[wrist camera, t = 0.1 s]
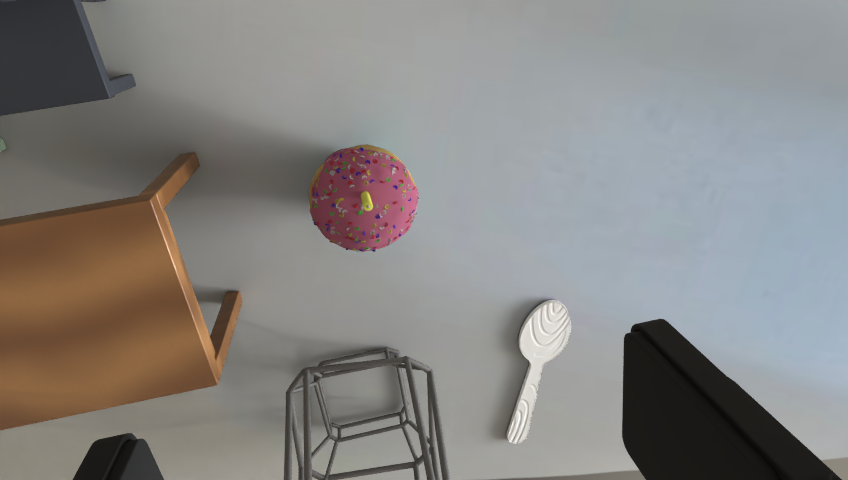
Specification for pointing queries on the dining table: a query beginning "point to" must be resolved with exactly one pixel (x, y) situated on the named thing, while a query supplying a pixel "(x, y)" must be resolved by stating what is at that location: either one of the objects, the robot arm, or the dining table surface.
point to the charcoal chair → (50, 57)
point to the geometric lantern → (433, 409)
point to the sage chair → (2, 145)
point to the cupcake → (363, 198)
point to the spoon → (538, 359)
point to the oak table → (102, 308)
